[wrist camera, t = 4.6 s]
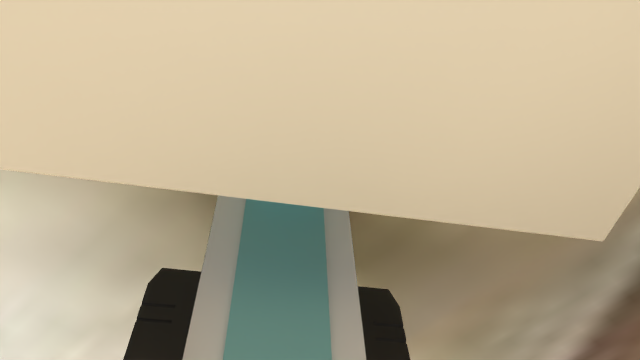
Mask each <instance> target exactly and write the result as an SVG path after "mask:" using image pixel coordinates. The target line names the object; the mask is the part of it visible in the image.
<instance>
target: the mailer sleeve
mask: <svg viewBox="0 0 640 360" xmlns="http://www.w3.org/2000/svg"><path fill="white" fill-rule="evenodd" d="M0 169H2V170H10V171H19V172H27V173H35V174H44V175H52V176H60V177H69V178H77V179H85V180H94V181H102V182H110V183H119V184H127V185H136V186H144V187H152V188H161V189H169V190H177V191H186V192H194V193H202V194H211V195H219V196H227V197H236V198H244V199H252V200H261V201H269V202H277V203H286V204H294V205H302V206H311V207H319V208H327V209H336V210H344V211H352V212H361V213H369V214H378V215H386V216H394V217H403V218H411V219H419V220H428V221H436V222H444V223H453V224H461V225H469V226H478V227H486V228H494V229H503V230H511V231H519V232H528V233H536V234H544V235H553V236H561V237H569V238H578V239H586V240H594V241H604V240H605V238H606V237H607V235H608V234H609V232H610V231H611V229H612V228H613V226H614V225H615V223H616V222H617V220H618V219H619V217H620V216H621V214H622V213H623V211H624V210H625V208H626V207H627V205H628V204H629V203H630V201H631V200H632V198H633V197H634V195H635V194H636V192H637V191H638V189H639V188H640V0H0Z"/></svg>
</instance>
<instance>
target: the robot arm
mask: <svg viewBox="0 0 640 360" xmlns="http://www.w3.org/2000/svg"><path fill="white" fill-rule="evenodd" d="M245 203H246V199H244V198H236V197H227V196H219V195H218V198H217V203H216V207H215V212H214V216H213V221H212V226H211V230H210V235H209V239H208V244H207V249H206V253H205V258H204V262H203V267H202V272H198V271H188V270H178V269H168V268H162V269H161V270H160V271H159V272H158V273H157V274H156V275H155V277H154V278H153V279H152V280H151V281H150V282H149V283H148V285H147V288H146V291H145V295H144V298H143V301H142V305H141V307H140V310H139V313H138V316H137V321H136V322H135V325H134V328H133V331H132V334H131V338H130V341H129V344H128V347H127V350H126V353H125V356H124V359H123V360H223V354H224V347H225V341H226V334H227V327H228V320H229V313H230V306H231V299H232V292H233V286H234V279H235V272H236V265H237V258H238V251H239V244H240V237H241V231H242V224H243V217H244V210H245ZM324 224H325V243H326V261H327V279H328V297H329V316H330V334H331V352H332V360H410V357H409V352H408V347H407V344H406V337H405V332H404V329H403V321H402V316H401V311H400V306H399V305H398V303H397V302H396V300H395V299H394V297H393V296H392V294H391V293H390V291H389V290H388V289H378V288H368V287H358V285H357V277H356V268H355V260H354V251H353V243H352V234H351V226H350V217H349V211H344V210H336V209H327V208H324Z"/></svg>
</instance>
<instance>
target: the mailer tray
mask: <svg viewBox="0 0 640 360" xmlns="http://www.w3.org/2000/svg"><path fill="white" fill-rule="evenodd" d="M223 360H332V352H331V334H330V316H329V297H328V279H327V261H326V243H325V224H324V208H319V207H311V206H302V205H294V204H286V203H277V202H269V201H261V200H252V199H246V203H245V210H244V217H243V224H242V231H241V237H240V244H239V251H238V258H237V265H236V272H235V279H234V286H233V292H232V299H231V306H230V313H229V320H228V327H227V334H226V341H225V347H224V354H223Z"/></svg>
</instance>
